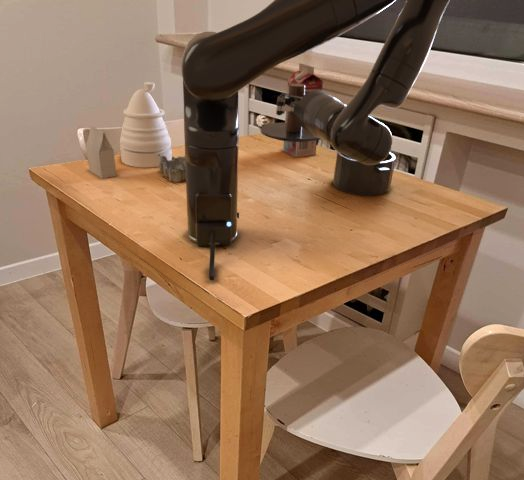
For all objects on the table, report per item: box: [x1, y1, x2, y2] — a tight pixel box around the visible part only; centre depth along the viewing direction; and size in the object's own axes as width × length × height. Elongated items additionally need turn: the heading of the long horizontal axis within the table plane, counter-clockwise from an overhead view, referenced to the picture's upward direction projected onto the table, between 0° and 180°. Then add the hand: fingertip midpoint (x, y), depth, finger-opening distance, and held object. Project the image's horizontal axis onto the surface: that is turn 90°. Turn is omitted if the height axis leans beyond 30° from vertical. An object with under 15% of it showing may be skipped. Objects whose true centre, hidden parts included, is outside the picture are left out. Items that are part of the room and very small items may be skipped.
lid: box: [260, 84, 321, 142], centre depth 112 cm, size 15×15×10 cm
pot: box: [332, 151, 397, 196], centre depth 126 cm, size 14×19×8 cm
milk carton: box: [282, 62, 324, 158], centre depth 142 cm, size 7×7×22 cm
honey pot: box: [119, 81, 173, 168], centre depth 131 cm, size 13×13×18 cm
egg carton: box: [158, 154, 186, 183], centre depth 126 cm, size 11×8×4 cm
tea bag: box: [85, 125, 117, 179], centre depth 123 cm, size 4×7×10 cm, turn 40°
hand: (291, 97), depth 113 cm, fingers closed on lid, 3 cm apart
